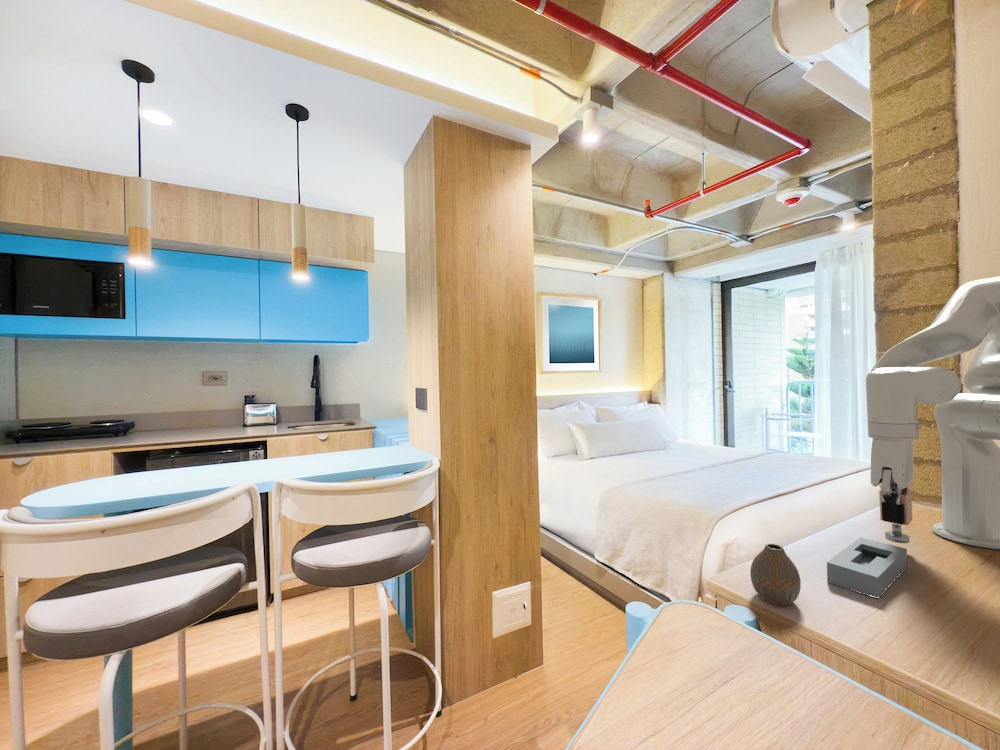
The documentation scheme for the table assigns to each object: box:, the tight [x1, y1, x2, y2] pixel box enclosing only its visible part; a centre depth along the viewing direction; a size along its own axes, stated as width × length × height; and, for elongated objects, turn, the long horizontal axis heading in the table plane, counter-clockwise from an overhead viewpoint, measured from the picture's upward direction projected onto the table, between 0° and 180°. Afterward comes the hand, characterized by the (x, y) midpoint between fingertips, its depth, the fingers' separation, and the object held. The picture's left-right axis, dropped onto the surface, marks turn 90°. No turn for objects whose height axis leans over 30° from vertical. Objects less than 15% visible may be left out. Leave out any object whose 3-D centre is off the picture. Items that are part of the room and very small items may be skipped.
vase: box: [749, 543, 802, 607], centre depth 69 cm, size 7×7×9 cm
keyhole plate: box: [826, 537, 908, 597], centre depth 76 cm, size 18×7×4 cm, turn 125°
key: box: [878, 489, 913, 544], centre depth 85 cm, size 4×4×10 cm
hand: (896, 518), depth 85 cm, fingers closed on key, 4 cm apart
